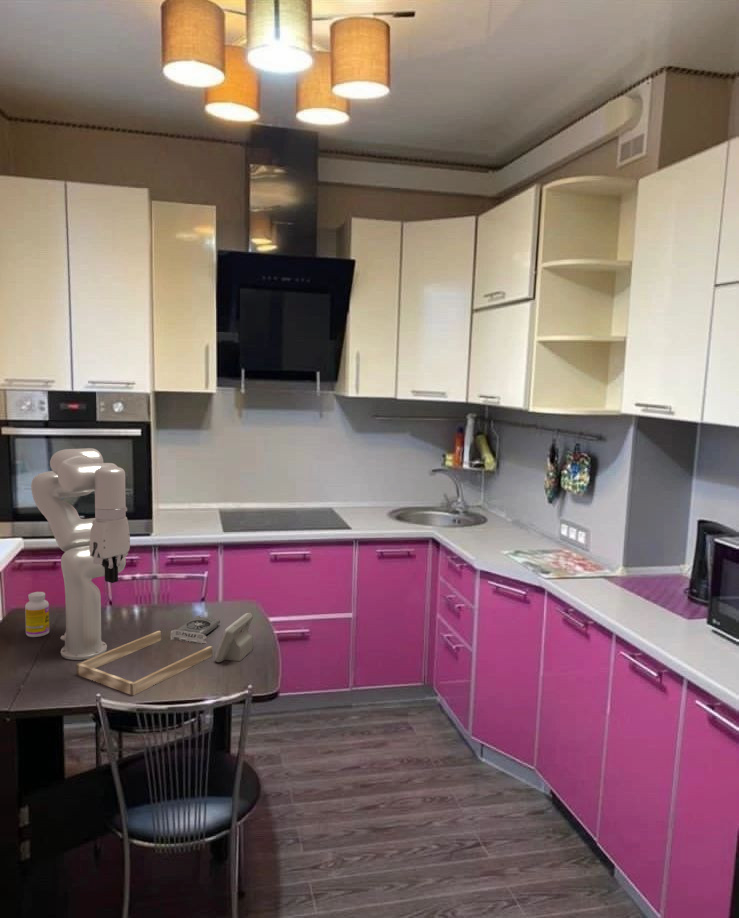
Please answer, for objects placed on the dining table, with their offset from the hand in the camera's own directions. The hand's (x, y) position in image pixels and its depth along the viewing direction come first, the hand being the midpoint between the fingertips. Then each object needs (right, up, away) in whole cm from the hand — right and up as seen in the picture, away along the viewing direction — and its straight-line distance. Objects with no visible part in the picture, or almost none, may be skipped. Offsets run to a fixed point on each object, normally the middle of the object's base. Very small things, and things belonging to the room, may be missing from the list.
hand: (111, 581), depth 180 cm
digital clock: (+28, -26, +22) cm, 44 cm away
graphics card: (+15, -24, +36) cm, 46 cm away
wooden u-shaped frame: (+6, -26, +12) cm, 29 cm away
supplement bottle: (-35, -22, +31) cm, 52 cm away
